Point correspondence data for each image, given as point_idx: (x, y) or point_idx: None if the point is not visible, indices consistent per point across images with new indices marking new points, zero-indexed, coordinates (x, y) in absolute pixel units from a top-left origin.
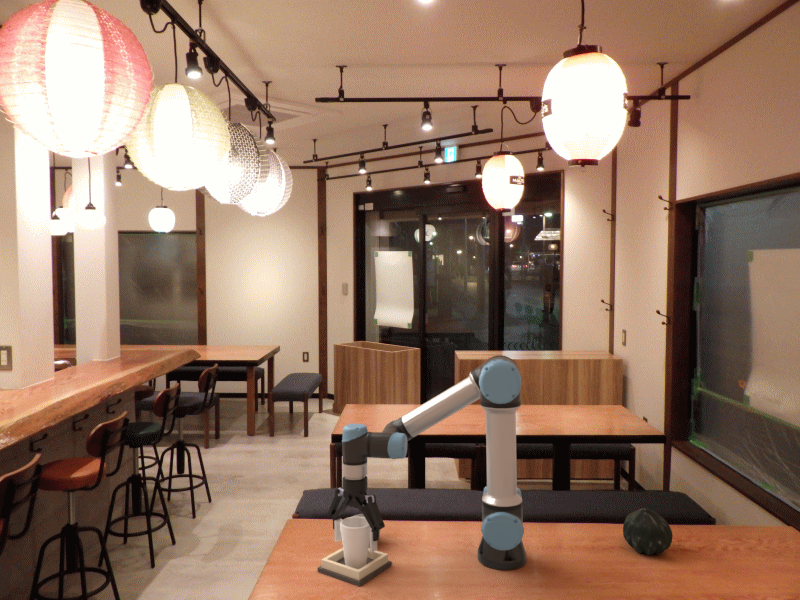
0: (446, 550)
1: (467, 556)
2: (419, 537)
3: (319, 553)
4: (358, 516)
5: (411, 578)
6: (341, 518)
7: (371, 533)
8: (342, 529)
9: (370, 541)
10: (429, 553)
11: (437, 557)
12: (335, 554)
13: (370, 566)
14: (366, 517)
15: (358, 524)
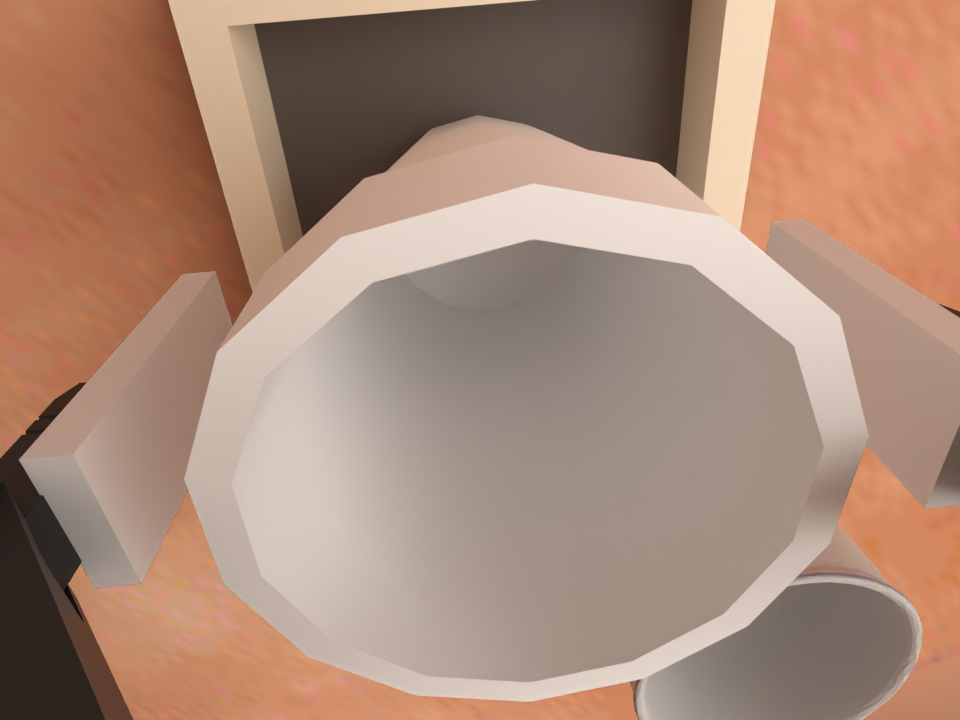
0: (225, 697)
1: None
2: (457, 712)
3: (935, 215)
4: (865, 691)
5: (27, 363)
6: (930, 502)
7: (53, 427)
8: (636, 178)
9: (145, 343)
10: (263, 637)
11: (187, 631)
12: (707, 152)
13: (230, 200)
14: (25, 705)
15: (605, 552)
